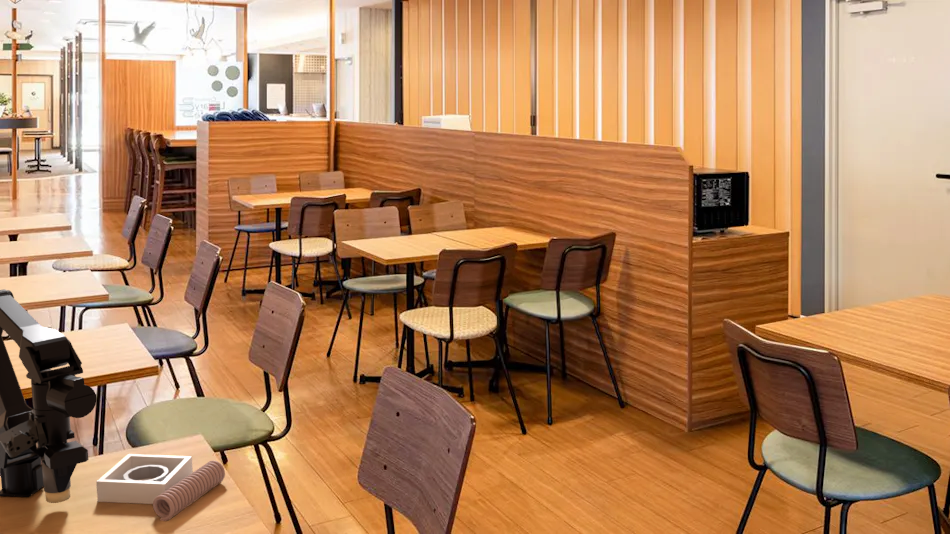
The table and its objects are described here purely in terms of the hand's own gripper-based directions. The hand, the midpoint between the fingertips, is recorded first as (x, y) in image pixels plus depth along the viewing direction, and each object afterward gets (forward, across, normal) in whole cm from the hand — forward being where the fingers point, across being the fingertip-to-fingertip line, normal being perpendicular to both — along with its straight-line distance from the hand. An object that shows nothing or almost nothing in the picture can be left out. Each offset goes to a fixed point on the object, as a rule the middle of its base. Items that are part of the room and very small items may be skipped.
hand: (57, 487), depth 154 cm
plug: (+2, 0, 0) cm, 2 cm away
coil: (+5, +11, +20) cm, 23 cm away
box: (+4, +1, +16) cm, 16 cm away
